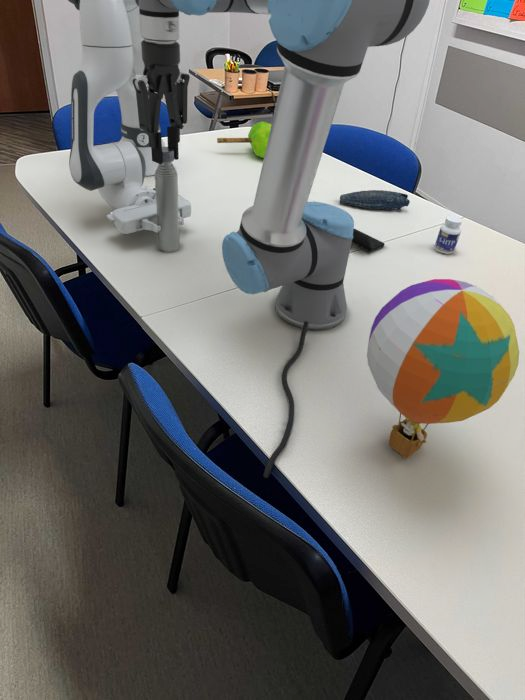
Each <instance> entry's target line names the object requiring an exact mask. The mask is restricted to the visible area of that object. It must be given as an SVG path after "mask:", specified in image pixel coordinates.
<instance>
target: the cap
mask: <svg viewBox="0 0 525 700" xmlns="http://www.w3.org/2000/svg"><path fill="white" fill-rule="evenodd" d="M162 160H163V162H174V161H175V159H174V149H173V148H171V147H168V146H165V147H162Z"/></svg>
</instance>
